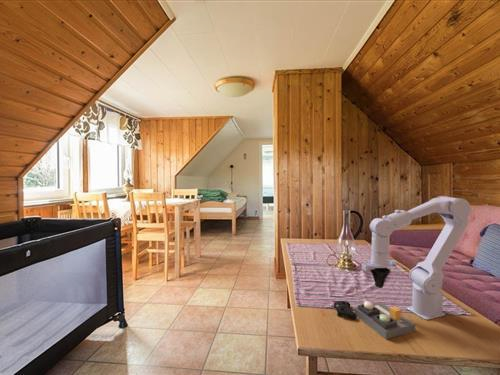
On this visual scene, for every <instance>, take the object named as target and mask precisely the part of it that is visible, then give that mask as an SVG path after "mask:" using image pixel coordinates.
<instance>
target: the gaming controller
mask: <svg viewBox="0 0 500 375" xmlns="http://www.w3.org/2000/svg"><path fill="white" fill-rule="evenodd" d="M350 307H351V303H350V302H348V301H346V300H337V301H336V300H335V301H334V302H333V309H335V310H336V312H337V314H336V315H337V317H344V318H348V319H350V320H354V321H355V320H357V318H358V317H357V316H356V314H355V311H354V310H352V309H351V308H350Z"/></svg>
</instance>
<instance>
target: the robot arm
mask: <svg viewBox="0 0 500 375" xmlns="http://www.w3.org/2000/svg"><path fill="white" fill-rule="evenodd" d="M472 211H473V209H472V207H471V205H470V202H469V201H468V200H467V199H465V198H461V197H460V198H459V197H450V196H446V195H440V196H437V197H434V198H431V199H429V201H428V200H427V201H426V202H424V203H422V204H420V205H418V206H415V207H413V208H411V209H408V210H407V211H406V210H403V209H400V210H399V209H395V210H394V212H392V213H390V214H388V215H382V218H380V217H375V218H373V219H372V220H371V222H370V224H369V225H368V227H369V229H370V231H371V254H370V255H371V256H370V258H369V261H368V262H365V263H362V264H361V270H362V271H364V272H368V271H370V273H371V275H372V278H373V280H374V285H375V287H377V288H378V289H383V287H384V285H385V282H386V279H387V278H388V276H389V274H390V273H391V269H389V267H397V266H398V261H397V260H395V259H390V236H391V235H392V234H393V232H394V231H396V230H400V229H402V228H405V227H406V226H410V225H411V224H412V221H413V220H415V219H418V218H422V217H424V216H427V215H430V214H434V213H438V215H439V216H441V217H442V219H443V221H444V223H445V225H444V227H443V228H442V230H441V232H440V234H439V235H438V237H437V239H436V240H435V242H434V244H433V246H432V247H431V248H430V251H429V253H428V254H427V255H426V257H425V259H424V260H422V261H420V262H418V263H416V266H414V267H413V268H411V269H410V271H409V274H408V276H409V279H410V280H411V282H412V297H411V300H412V302H411V306H407V307H405V309H406V310H408V311H410V312H411V313H413V314H414V315H416V316H418V317H419V318H422V319H424V320H426V321H428V320H431V319H432V320H433V319H436V318H440V317H444V316H445V315H446V314H445V313H444V312H443V308H444V297H443V294H442V292H441V290H442V287H443V281H444V280H445V275H444V273H443V268H444V266H445V264H446V263H447V261H448V259H449V258H450V256H451V255H452V253H453V251H454V250H455V248H456V246H457V244H458V242H460V239H461V238H462V236H463V234H464V233H465V231H466V229H467V227H468V222H469V221H468V220H469V216H470V215H471V213H472Z"/></svg>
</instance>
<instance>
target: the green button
mask: <svg viewBox="0 0 500 375" xmlns="http://www.w3.org/2000/svg"><path fill="white" fill-rule="evenodd" d="M380 320H381V321H382V322H384V323H388V322H390V317H389V316H388V315H385V314H381V315H380Z"/></svg>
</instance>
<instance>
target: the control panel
mask: <svg viewBox="0 0 500 375" xmlns="http://www.w3.org/2000/svg"><path fill="white" fill-rule="evenodd" d="M354 313H355V314H356V316H357V318H358V319H360V321H362V322H364V323H365V324H366V325H367V326H368V327H370V328H371V329H372V330H374V332H376V333H377V334H379V335H380V336H381V337H383V339H385V340H388V339H392V338H395V337H399V336H403V335H407V334H411V333H414V332H415V333H416V324H415V322H412V321H411V320H409V319H408V318H406V317H404V316H403V315H401V319H397V320H395V319H393V318H392V317H390V316H389V313H390V307H388V306H387V305H386V304H384V303H383V302H377V303H373V310H371V311H370V310H366V309H365V308H364V303H362V304H357V307H354ZM381 314H385V315H388V316H389V317H390V322H388V323H384V322H382V321H381V320H380V315H381Z"/></svg>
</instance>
